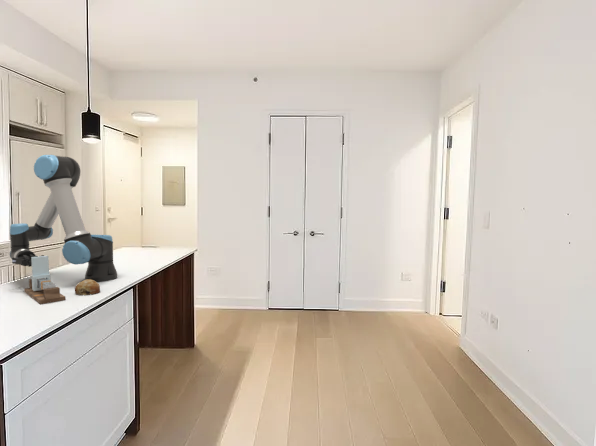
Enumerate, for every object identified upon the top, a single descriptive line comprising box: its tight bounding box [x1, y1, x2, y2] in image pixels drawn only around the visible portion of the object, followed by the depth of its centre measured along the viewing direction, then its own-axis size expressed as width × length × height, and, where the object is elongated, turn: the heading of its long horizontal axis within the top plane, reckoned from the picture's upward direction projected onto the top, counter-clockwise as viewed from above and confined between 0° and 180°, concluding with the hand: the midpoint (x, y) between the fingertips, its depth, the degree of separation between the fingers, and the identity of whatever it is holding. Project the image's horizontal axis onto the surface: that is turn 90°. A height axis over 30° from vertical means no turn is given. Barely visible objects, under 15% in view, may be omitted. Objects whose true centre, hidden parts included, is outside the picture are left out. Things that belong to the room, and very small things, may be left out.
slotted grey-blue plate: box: [31, 255, 52, 291], centre depth 173 cm, size 3×6×14 cm, turn 136°
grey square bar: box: [37, 278, 57, 290], centre depth 171 cm, size 25×3×3 cm, turn 46°
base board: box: [23, 278, 66, 305], centre depth 172 cm, size 28×9×6 cm, turn 46°
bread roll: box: [74, 279, 101, 296], centre depth 177 cm, size 10×10×8 cm
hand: (37, 263), depth 174 cm, fingers closed
